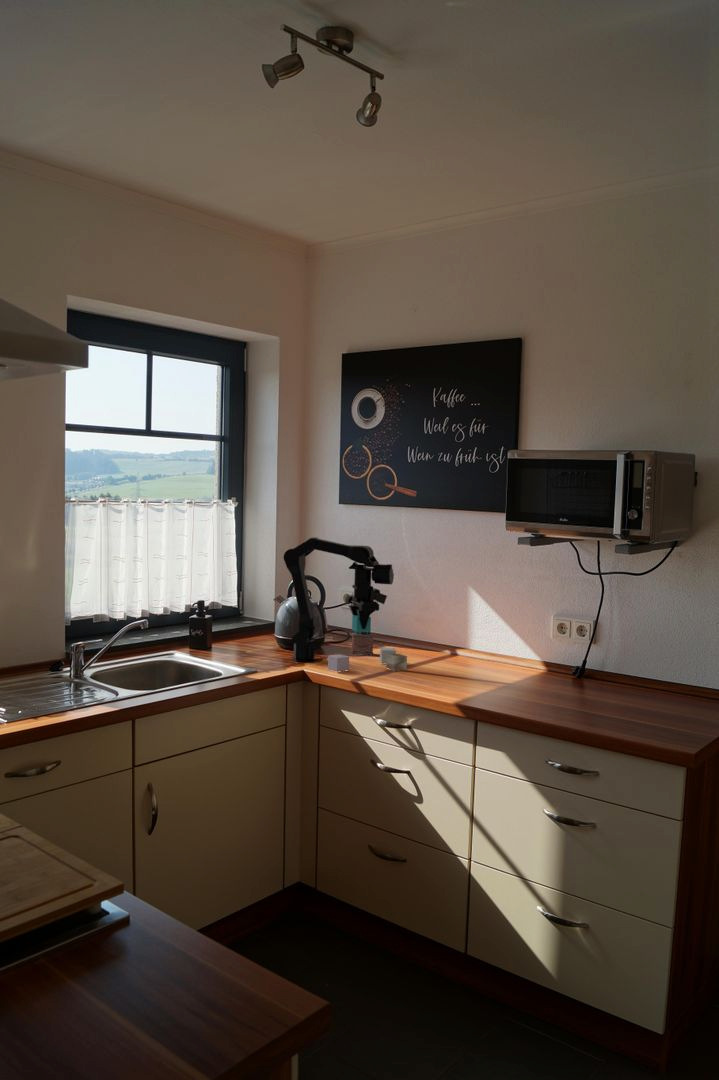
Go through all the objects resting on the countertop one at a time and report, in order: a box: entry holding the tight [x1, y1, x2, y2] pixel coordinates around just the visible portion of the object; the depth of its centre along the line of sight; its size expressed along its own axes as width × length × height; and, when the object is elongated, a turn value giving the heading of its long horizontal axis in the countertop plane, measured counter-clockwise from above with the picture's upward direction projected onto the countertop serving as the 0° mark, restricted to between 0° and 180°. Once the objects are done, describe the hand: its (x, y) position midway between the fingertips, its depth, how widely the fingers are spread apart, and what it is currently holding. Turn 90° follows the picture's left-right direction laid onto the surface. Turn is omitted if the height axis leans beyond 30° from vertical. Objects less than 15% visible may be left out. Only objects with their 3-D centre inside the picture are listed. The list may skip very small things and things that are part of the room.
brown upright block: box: [350, 630, 375, 656], centre depth 320 cm, size 8×3×10 cm, turn 84°
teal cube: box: [351, 615, 372, 633], centre depth 301 cm, size 5×5×5 cm
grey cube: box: [379, 646, 397, 664], centre depth 307 cm, size 5×5×5 cm
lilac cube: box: [327, 653, 350, 672], centre depth 292 cm, size 5×5×5 cm
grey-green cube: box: [385, 653, 408, 671], centre depth 296 cm, size 5×5×5 cm
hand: (361, 627), depth 301 cm, fingers closed on teal cube, 5 cm apart
